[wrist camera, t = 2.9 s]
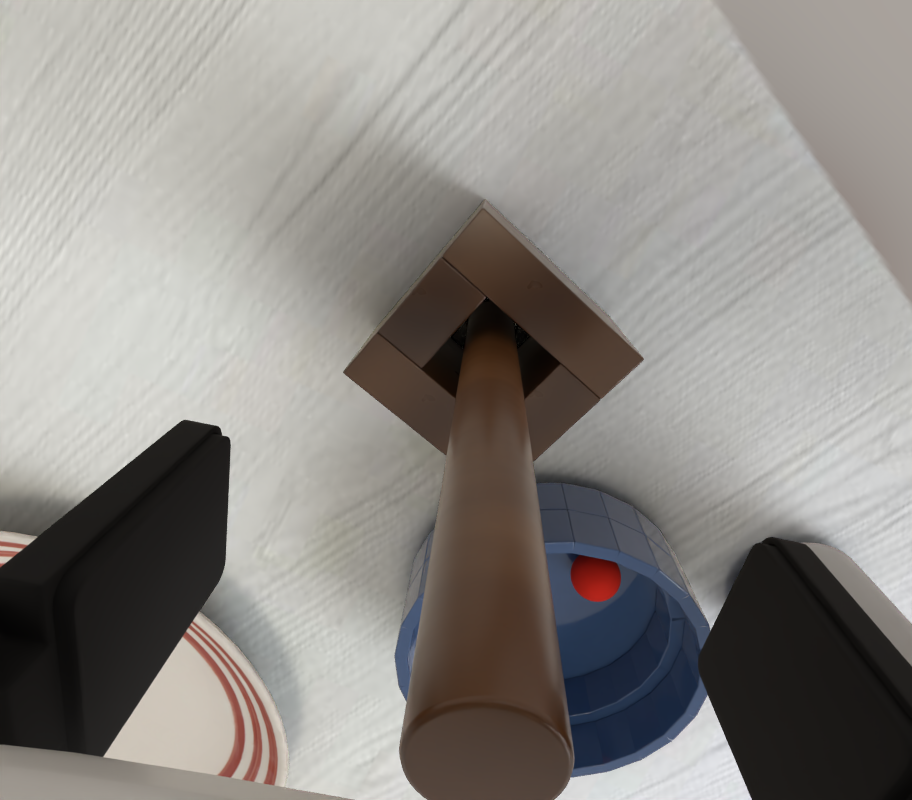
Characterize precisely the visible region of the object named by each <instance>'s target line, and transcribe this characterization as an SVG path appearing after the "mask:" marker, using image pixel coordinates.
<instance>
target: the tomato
mask: <svg viewBox="0 0 912 800" xmlns="http://www.w3.org/2000/svg"><path fill="white" fill-rule="evenodd" d="M570 575H571V581H572V584H573V586H574V588H575V590H576V591H577V592H578V594H580V595H581V596H582V597H583V598H585V599H587V600H590V601H594V602H601V601H605V600H608V599H610V598H611V597H612V596H614V595H615V593H616V592H617V591H618V589H619V587H620V583H621V573H620V569H619V567H618V565H617V563H616V562H613V561H608V560H603V559H598V558H593V557H588V556H583V555H579V556H578V557H577V558H576V559H575V561H574V562H573V564H572V567H571V573H570Z"/></svg>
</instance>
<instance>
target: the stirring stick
mask: <svg viewBox="0 0 912 800" xmlns="http://www.w3.org/2000/svg"><path fill="white" fill-rule="evenodd" d="M399 754H400V760H401V764H402V768H403V771H404V773H405V776H406V778H407V779H408V781H409V782H410V784H411V785H412V786H413V787H414V789H415V790H416V791H417V792H418V793H420V794H421V795H422V796H423V797H424V798H426V799H427V800H554V799H555V798H557V797H558V796H559V795H560V794H561V793H562V791H563V790H564V789H565V787H566V786H567V784H568V782H569V780H570V777H571V774H572V771H573V767H574V759H575V758H574V748H573V741H572V734H571V727H570V720H569V713H568V706H567V698H566V691H565V684H564V677H563V670H562V663H561V656H560V649H559V642H558V635H557V628H556V620H555V613H554V606H553V599H552V592H551V585H550V578H549V571H548V564H547V557H546V550H545V543H544V535H543V528H542V521H541V514H540V507H539V500H538V493H537V486H536V479H535V472H534V465H533V457H532V450H531V443H530V436H529V429H528V422H527V415H526V408H525V401H524V394H523V387H522V380H521V372H520V365H519V358H518V351H517V344H516V337H515V330H514V323H513V320H512V319H511V318H510V317H509V316H508V315H507V314H505V313H504V312H503V311H502V310H501V309H500V308H499V307H498V306H497V305H495V304H494V303H493V302H492V301H489V302H484V303H481V304H480V305H479V306H478V308H477V309H476V310H475V311H474V312H473V313H472V314H471V315H470V316H469V320H468V327H467V333H466V339H465V345H464V351H463V357H462V364H461V370H460V376H459V382H458V388H457V394H456V401H455V407H454V413H453V419H452V425H451V431H450V437H449V444H448V450H447V456H446V462H445V468H444V474H443V481H442V487H441V493H440V499H439V505H438V511H437V518H436V524H435V530H434V536H433V542H432V548H431V555H430V561H429V567H428V573H427V579H426V585H425V592H424V598H423V604H422V610H421V616H420V622H419V629H418V635H417V641H416V647H415V653H414V659H413V666H412V672H411V678H410V684H409V690H408V696H407V703H406V709H405V715H404V721H403V727H402V733H401V740H400V747H399Z"/></svg>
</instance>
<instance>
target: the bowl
mask: <svg viewBox="0 0 912 800" xmlns="http://www.w3.org/2000/svg"><path fill="white" fill-rule="evenodd" d="M536 486H537V493H538V500H539V507H540V514H541V521H542V528H543V535H544V543H545V550H546V557H547V564H548V571H549V578H550V585H551V592H552V599H553V606H554V613H555V620H556V628H557V635H558V642H559V649H560V656H561V663H562V670H563V677H564V684H565V691H566V698H567V706H568V713H569V720H570V727H571V734H572V741H573V748H574V758H575V759H574V767H573V771H572V774H571V777H578V776H585V775H591V774H597V773H603V772H607V771H612V770H614V769H617V768H620V767H623V766H626V765H628V764H631V763H634V762H637V761H639V760H642V759H644V758H645V757H647V756H649V755H650V754H652V753H653V752H655V751H657V750H658V749H660V748H662V747H663V746H665V745H666V744H668V743H670V742H671V741H672V740H674V739H675V738H676V737H677V736H678V735H679V734H680V732H681V731H682V730H683V729H684V728H685V727H686V726H687V725H688V724H689V723H690V722H691V721H692V720H693V719H694V718H695V717H696V716H697V714H698V712H699V710H700V708H701V706H702V704H703V703H704V701H705V699H706V697H707V695H708V694H707V692H706V689H705V687H704V684H703V682H702V680H701V677H700V674H699V670H698V658H699V654H700V651H701V649H702V647H703V645H704V643H705V641H706V639H707V637H708V635H709V633H710V627H709V624H708V621H707V619H706V617H705V615H704V613H703V611H702V609H701V607H700V605H699V603H698V601H697V599H696V596H695V594H694V592H693V590H692V588H691V586H690V584H689V582H688V580H687V578H686V576H685V574H684V571H683V569H682V567H681V565H680V563H679V561H678V559H677V557H676V555H675V553H674V552H673V550H672V548H671V547H670V545H669V544H668V542H667V540H666V539H665V537H664V536H663V534H662V532H661V531H660V530H659V529H658V527H657V526H655V525H654V524H653V523H652V522H651V521H650V520H648V519H647V518H646V517H645V516H644V515H643V514H641V513H640V512H639V511H638V510H637V509H636V508H634V507H632V506H631V505H629V504H627V503H625V502H623V501H621V500H619V499H617V498H614V497H612V496H610V495H608V494H606V493H604V492H602V491H599V490H597V489H592V488H587V487H582V486H577V485H572V484H567V483H560V482H556V483H536ZM434 530H435V528H434V529H433V530H432V531H431V532H430V533H429V534H428V536H427V538H426V540H425V541H424V543H423V545H422V547H421V548H420V550H419V552H418V554H417V555H416V557H415V559H414V562H413V567H412V572H411V577H410V581H409V586H408V591H407V596H406V601H405V606H404V611H403V616H402V621H401V626H400V631H399V635H398V640H397V645H396V650H395V664H396V671H397V678H398V685H399V688H400V690H401V692H402V694H403V696H404V698H405V700H406V702H407V696H408V690H409V684H410V678H411V672H412V666H413V659H414V653H415V647H416V641H417V635H418V629H419V622H420V616H421V610H422V604H423V598H424V592H425V585H426V579H427V573H428V567H429V561H430V555H431V548H432V542H433V536H434ZM579 555H583V556H588V557H593V558H598V559H603V560H608V561H613V562H616V563H617V565H618V567H619V569H620V573H621V583H620V587H619V589H618V591H617V592H616V593H615V595H614V596H612V597H611V598H610V599H608V600H605V601H601V602H594V601H590V600H587V599H585V598H583V597H582V596H581V595H580V594H578V592H577V591H576V590H575V588H574V586H573V584H572V581H571V575H570V573H571V567H572V564H573V562H574V561H575V559H576V558H577V557H578V556H579Z"/></svg>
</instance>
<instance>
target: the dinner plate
mask: <svg viewBox="0 0 912 800" xmlns="http://www.w3.org/2000/svg"><path fill="white" fill-rule="evenodd" d="M36 538H37V536H32V535H26V534H21V533H15V532H6V531H0V567H1V566H3V565H4V564H5V563H6V562H8V561H9V560H10V559H11V558H12V557H14V556H15V555H16V554H17V553H19V552H20V551H21V550H22V549H24V548H25V547H26V546H27V545H29V544H30V543H31V542H32V541H33V540H35V539H36ZM103 757H105V758H112V759H118V760H124V761H131V762H137V763H143V764H149V765H156V766H162V767H168V768H175V769H181V770H187V771H193V772H200V773H206V774H212V775H218V776H223V777H229V778H235V779H240V780H246V781H252V782H257V783H263V784H268V785H274V786H280V787H285V785H286V781H287V776H288V770H289V752H288V744H287V738H286V733H285V729H284V726H283V722H282V719H281V716H280V714H279V711H278V709H277V706H276V704H275V702H274V700H273V698H272V696H271V694H270V692H269V690H268V689H267V687H266V685H265V684H264V682H263V680H262V679H261V677H260V676H259V674H258V673H257V671H256V670H255V668H254V667H253V665H252V664H251V663H250V662H249V660H248V659H247V658H246V657H245V655H244V654H243V653H242V652H241V650H240V649H239V648H238V647H237V646H236V645H235V644H234V643H233V642H232V641H231V640H230V639H229V638H228V636H227V635H226V634H225V633H224V632H223V631H222V630H221V629H220V628H219V627H217V626H216V625H215V624H214V623H213V622H212V621H211V620H209V619H208V618H207V617H206V616H205V615H204V614H202V613H201V612H200V611H199V613H198V614H197V616H196V617H195V619H194V620H193V622H192V623H191V625H190V626H189V628H188V629H187V631H186V632H185V634H184V635H183V637H182V638H181V640H180V641H179V643H178V644H177V646H176V647H175V649H174V650H173V652H172V653H171V655H170V657H169V658H168V660H167V661H166V663H165V664H164V666H163V667H162V669H161V670H160V672H159V673H158V675H157V676H156V678H155V679H154V681H153V682H152V684H151V685H150V687H149V688H148V690H147V691H146V693H145V694H144V696H143V698H142V699H141V701H140V702H139V704H138V705H137V707H136V708H135V710H134V711H133V713H132V714H131V716H130V717H129V719H128V720H127V722H126V723H125V725H124V726H123V728H122V729H121V731H120V732H119V734H118V735H117V737H116V738H115V740H114V742H113V743H112V745H111V746H110V748H109V749H108V751H107V752H106V754H105V755H104V756H103Z"/></svg>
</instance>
